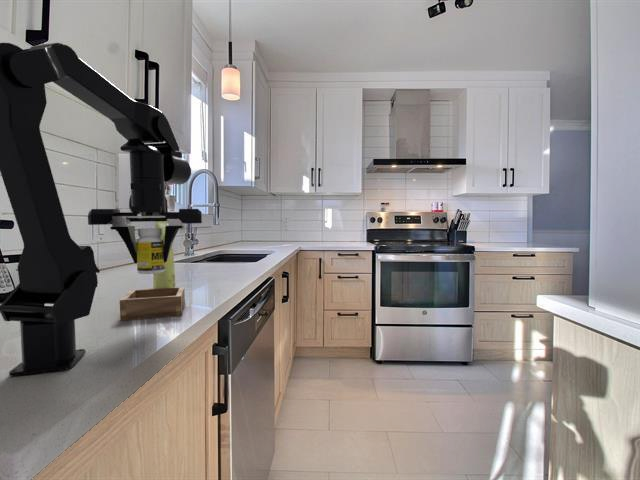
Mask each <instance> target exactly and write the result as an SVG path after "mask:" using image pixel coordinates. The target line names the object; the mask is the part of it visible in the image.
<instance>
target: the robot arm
mask: <svg viewBox="0 0 640 480" xmlns="http://www.w3.org/2000/svg"><path fill="white" fill-rule="evenodd" d="M49 83H53V84H55V85H56V86H59V87H60V88H61V89H63V90H65V91H66V92H68V93H69V94H71V96H73V97H75V98H77V99H78V100H80V101H82V103H84V104H86V105H87V106H89V107H91V108H92V109H93V110H95V111H96V112H98V113H99V114H101V115H102V116H104V117H106V118H107V119H109V120H110V121H111V122H112V123H113V125H114V128H115V129H116V132H117V133H119V134H120V135H121V137H123V138H124V139H126V140H127V141H126V143H124V144H123V145H121V146H120V150H121V152H125V153H129V168H130V169H129V171H130V174H129V176H130V184H129V185H130V196H129V200H128V201H129V202H128V208H129V210H130V212H129V211H127V212H123V211H122V212H121V210H120V209H118V208H116V209H115V208H92V209H90V210H89V212H88V213H87V225H89V226H91V225H92V226H93V225H94V226H96V225H97V226H98V225H100V226H101V225H102V226H103V225H104V226H105V225H111V226H110V230H111V231H112V230H115V231H116V232H117V233H118V235H119V236H120V238H121V239H122V241H123V242H124V245H125V246H126V248H127V250H128V252H129V254H130V256H131V259H132V261H133V264H137V247H136V241H137V239H136V226H135V225H132V223H133V222H136V223H137V222H139V223H141V222H144V223H145V222H156V221H167V223H169V226H165V240H164V262H167V260H168V257H169V253H170V250H171V246H173V243H174V240H175V238H176V237H177V234H178V232H179V229H184V228H185V224H203V212H202V211H201V210H200V209H199V208H179V209H178V211H177V212H176V211H169V210H168V208H169V207H168V199H167V197H166V185H165V184H167V183H168V184H172V185H173V184H174V185H179V186H180V185H184V184H185V183H187V182H188V181H189V180H190V178H191V176H192V168H191V166H190V165H191V164H189V162H188V161H187V160H186V159H185V158H183V154H182V152H181V151H180V147H179V144H178V142H177V139H176V138H175V134H174V133H173V130H172V127H171V124H170V123H169V121H168V118H167V117H166V115H165V114H164V113H163V112H162V111H161V110H159V109H158V108H156V107H154V106H152V105H150V104H148V103H144V102H140V101H136V100H135V99H132V98H131V97H130V96H129V95H127V94H126V93H124V92H123V91H122V90H120V89H119V88H118V87H117V86H115V85H114V84H113V83H112V82H110V81H109V80H108V79H106V78H105V77H104V76H103V75H101V74H100V73H99V72H98V71H96V70H94V68H92V66H90V65H89V64H87V62H85V61H84V60H82V59H81V58H80V57H79V55H77V52H76V51H75V50H74V49H73V48H72V47H70V46H69V45H67V44H63V43H62V42H53V43H45V44H37V45H33V46H30V48H25V49H23V48H21V47H20V46H18V45H17V44H13V43H11V42H0V175H1V178H2V180H3V184H4V186H5V187H4V188H5V191H6V192H7V196H8V199H9V203H10V206H11V208H12V209H11V210H12V212H13V215H14V218H15V221H16V224H17V226H18V227H17V228H18V230H19V233H20V235H21V236H20V237H21V238H22V239H21V240H22V242H23V243H22V244H23V249H22V252H21V255H20V258H19V262H18V264H17V272H18V274H17V275H18V279H19V283H18V284H17V286H16V287H15V288H14V289H13V290H12V292H11V293H10V294H9V295H8V296H7V297H6V298H5V299H4V301H3V302H2V303H1V304H0V315H1V317H2V318H3V321H5V322H19V327H20V346H21V347H20V348H21V361H20V363H19V364H17V365H16V366H14V367H13V368H12V369H11V370H9V372H8V375H9V377H10V376H11V377H13V376H21V375H30V374H31V375H32V374H39V373H47V372H56V371H65V370H69V369H71V368H72V367H73V366H75V364H76V363H77V362H78V361H79V360H80V359H81V358H82V357H83V356H84V354H86V349H85V348H79V349H77V343H76V325H75V324H76V320H77V319H80V318H81V319H82V318H84V317H87V316H89V315H90V314H91V309H92V305H93V302H94V298H95V293H96V288H97V287H98V282H99V280H98V275H97V274H99V273H100V271H101V270H100V269H99V268H98V266H97V264H96V261H95V252H94V250H93V248H92V246H91V245H79V244H77V242H76V241H74V239H72V238H71V235H70V232H69V228H68V225H67V222H66V218H65V215H64V211H63V207H62V203H61V200H60V197H59V194H58V193H59V192H58V189H57V186H56V183H55V182H56V181H55V179H54V175H53V172H52V169H51V165H50V161H49V158H48V157H49V156H48V154H47V151H46V148H45V144H44V139H43V137H42V133H41V127H40V126H41V122H42V119H43V117H44V113H45V111H46V107H47V94H46V86H45V85H46V84H49ZM45 304H46V305H45Z"/></svg>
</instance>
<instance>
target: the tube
mask: <svg viewBox="0 0 640 480" xmlns="http://www.w3.org/2000/svg"><path fill="white" fill-rule="evenodd" d="M165 226H169V223H167V221H155V225H154V228H161V230H162V234H161V236H160V237H161V238H163V240H165ZM173 246H174V245H172V246H171V250H170V253H169V257H168V260H167V262H165V271H164V272H161V273H156V274H152V276H153V283H152V284H153V285H152V286H153V287H152V289H155V288H172V287H176V274H175V259H174V257H175V256H174V248H173Z"/></svg>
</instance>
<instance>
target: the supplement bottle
mask: <svg viewBox="0 0 640 480" xmlns="http://www.w3.org/2000/svg"><path fill="white" fill-rule="evenodd" d="M137 233H138V234H137V235H138V238H137V239H136V247H137V263H136V265H137V268H136V269H137V274H138V275H139V274H140V275H153V274H156V273H161V272H164V271H165V262H164V240H163V238H161V237H160V236H161V234H162V230H161V228H155V227H154V228H153V227H151V228H147V227H146V228H143V227H142V228H138V229H137Z"/></svg>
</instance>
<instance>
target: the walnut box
mask: <svg viewBox="0 0 640 480" xmlns="http://www.w3.org/2000/svg"><path fill="white" fill-rule="evenodd" d="M185 290H186V289H185V286H175V287H172V288H155V289H153V288H139V289H131V290H130V291H128V292H127V293H126V294H125V295H124V296H123V297H122V298H121V299H119V319H120V322H122V321H123V322H124V321H134V320H146V319H158V318H169V317H181V316H182V315H183V313H184V309H185V306H186V305H185V304H186V299H185V298H186V297H185V296H186V294H185Z"/></svg>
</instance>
